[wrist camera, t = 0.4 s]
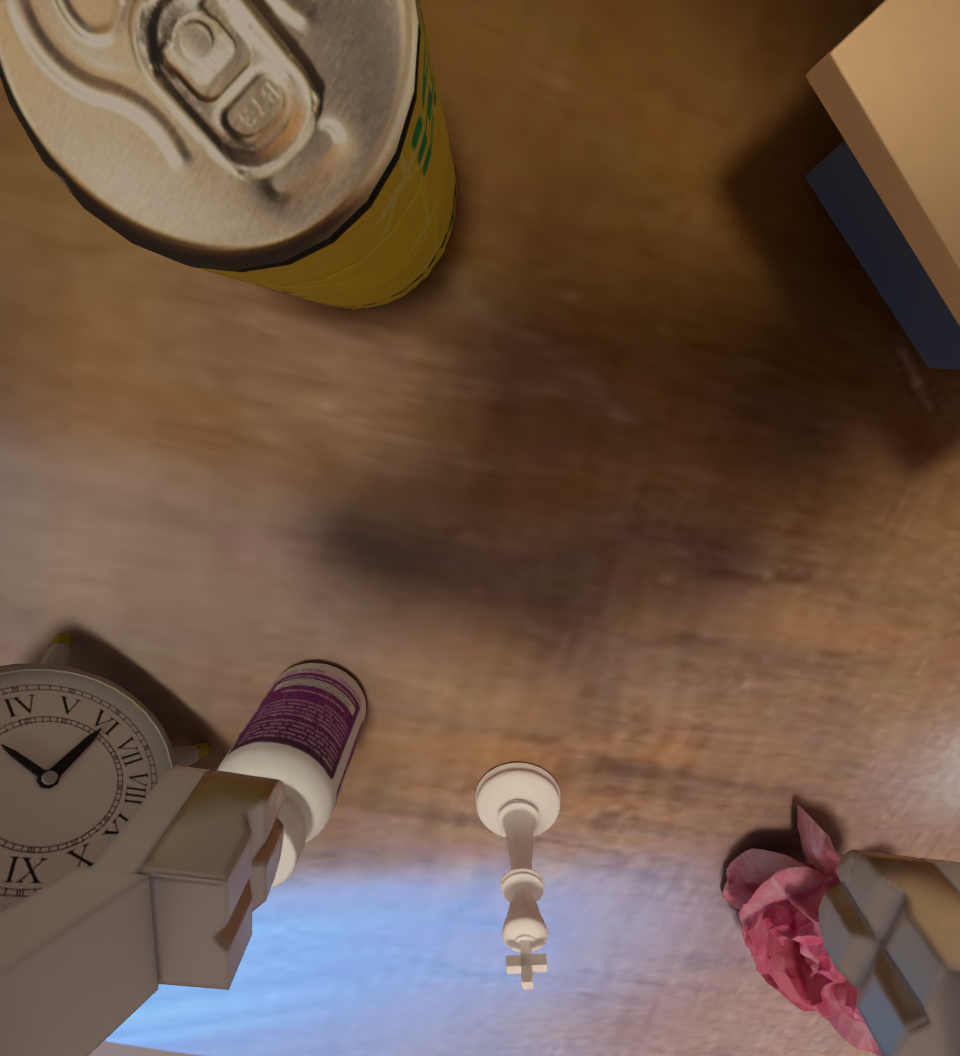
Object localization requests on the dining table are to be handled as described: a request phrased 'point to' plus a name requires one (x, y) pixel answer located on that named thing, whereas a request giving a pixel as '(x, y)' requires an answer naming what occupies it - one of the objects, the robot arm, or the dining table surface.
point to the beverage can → (245, 134)
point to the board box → (900, 163)
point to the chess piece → (520, 854)
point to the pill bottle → (302, 749)
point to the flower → (796, 928)
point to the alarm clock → (70, 768)
